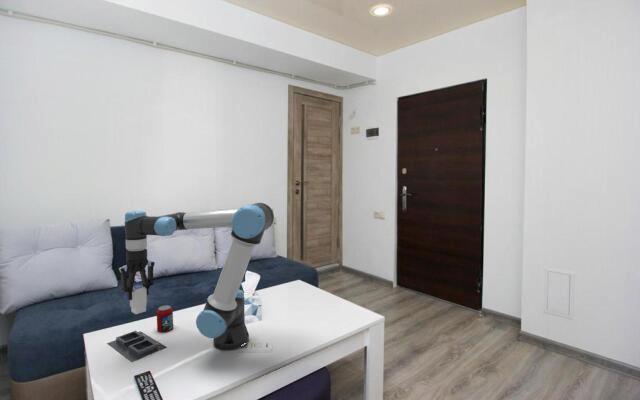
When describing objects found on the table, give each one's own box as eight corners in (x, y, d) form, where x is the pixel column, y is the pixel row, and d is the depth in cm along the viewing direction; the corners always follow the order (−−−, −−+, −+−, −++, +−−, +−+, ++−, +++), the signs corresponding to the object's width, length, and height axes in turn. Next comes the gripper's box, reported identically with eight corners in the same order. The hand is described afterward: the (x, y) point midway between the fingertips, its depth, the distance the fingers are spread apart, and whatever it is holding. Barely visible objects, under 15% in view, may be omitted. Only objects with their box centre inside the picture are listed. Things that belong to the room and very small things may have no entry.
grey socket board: (167, 350, 139) (167, 342, 138) (132, 366, 127) (131, 357, 127) (140, 334, 153) (140, 326, 153) (106, 346, 142) (106, 338, 142)
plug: (146, 311, 137) (145, 285, 136) (136, 314, 134) (135, 288, 133) (141, 308, 139) (140, 283, 138) (131, 311, 136) (130, 286, 135)
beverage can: (167, 336, 151) (166, 311, 150) (154, 335, 152) (153, 309, 151) (176, 330, 157) (175, 305, 156) (163, 328, 159) (162, 304, 158)
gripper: (153, 244, 144) (154, 297, 145) (109, 251, 130) (111, 309, 132) (162, 246, 139) (163, 301, 141) (117, 254, 125) (120, 314, 127)
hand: (138, 305), depth 136 cm, fingers closed on plug, 4 cm apart
